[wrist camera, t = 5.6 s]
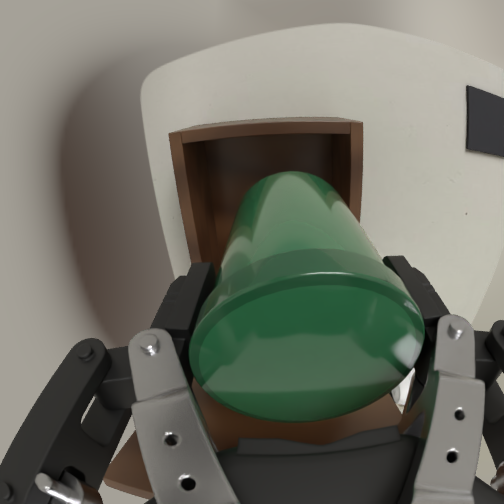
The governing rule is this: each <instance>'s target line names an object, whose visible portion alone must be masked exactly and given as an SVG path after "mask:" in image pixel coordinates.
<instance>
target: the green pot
mask: <svg viewBox="0 0 504 504" xmlns="http://www.w3.org/2000/svg"><path fill="white" fill-rule="evenodd" d="M424 339H425V326H424V320H423V317H422V314H421V312H420V309H419V308H418V306H417V304H416V302H415V300H414V299H413V297H412V295H411V293H410V292H409V290H408V288H407V287H406V285H405V284H404V283H403V281H402V280H401V278H400V277H399V276H397V275H396V274H395V273H394V272H393V271H392V270H391V269H390V268H388V267H387V266H386V265H385V263H384V262H383V260H382V258H381V257H380V255H379V254H378V252H377V250H376V249H375V247H374V245H373V244H372V242H371V241H370V239H369V238H368V236H367V234H366V233H365V231H364V230H363V228H362V227H361V225H360V224H359V222H358V221H357V219H356V218H355V216H354V215H353V213H352V212H351V210H350V209H349V207H348V206H347V205H346V203H345V202H344V200H343V199H342V197H341V196H340V195H339V193H338V192H337V191H336V190H335V189H334V188H333V187H332V186H331V185H330V184H329V183H328V182H326V181H324V180H323V179H321V178H319V177H317V176H315V175H312V174H309V173H304V172H296V171H289V172H281V173H277V174H273V175H270V176H268V177H266V178H264V179H262V180H260V181H259V182H257V183H256V184H255V185H253V186H252V187H251V188H250V189H249V190H248V191H247V192H246V194H245V195H244V196H243V198H242V199H241V201H240V203H239V205H238V208H237V210H236V213H235V217H234V220H233V223H232V226H231V230H230V233H229V236H228V240H227V243H226V246H225V250H224V253H223V256H222V260H221V263H220V267H219V270H218V274H217V277H216V280H215V284H214V287H213V291H212V293H211V294H210V295H209V296H208V297H207V299H206V300H205V302H204V304H203V305H202V307H201V309H200V312H199V314H198V317H197V320H196V323H195V326H194V329H193V333H192V336H191V339H190V344H189V350H188V356H189V364H190V368H191V371H192V374H193V376H194V378H195V380H196V381H197V383H198V384H199V385H200V387H201V388H202V389H203V390H204V391H205V392H206V393H207V394H208V395H209V396H210V397H211V398H213V399H214V400H215V401H216V402H218V403H220V404H221V405H223V406H225V407H226V408H228V409H230V410H233V411H235V412H237V413H240V414H242V415H245V416H248V417H252V418H256V419H260V420H265V421H272V422H281V423H306V422H316V421H322V420H328V419H332V418H336V417H340V416H343V415H347V414H350V413H352V412H355V411H358V410H360V409H362V408H364V407H366V406H369V405H371V404H372V403H374V402H376V401H378V400H379V399H381V398H382V397H384V396H385V395H387V394H388V393H390V392H391V391H392V390H393V389H395V388H396V387H397V386H398V385H399V384H400V383H401V382H402V381H403V380H404V379H405V378H406V377H407V376H408V374H409V373H410V372H411V370H412V369H413V368H414V366H415V364H416V363H417V361H418V359H419V357H420V354H421V352H422V349H423V345H424Z"/></svg>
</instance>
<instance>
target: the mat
mask: <svg viewBox="0 0 504 504" xmlns="http://www.w3.org/2000/svg"><path fill="white" fill-rule="evenodd" d="M466 149H470V150H475V151H480V152H485V153H490V154H494V155H499V156H503V157H504V98H501V97H499V96H496V95H494V94H491V93H489V92H486V91H483V90H480V89H477V88H474V87H471V86H468V85H467V145H466Z"/></svg>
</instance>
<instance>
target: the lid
mask: <svg viewBox="0 0 504 504" xmlns="http://www.w3.org/2000/svg"><path fill="white" fill-rule="evenodd" d="M192 389H193V391H194V394H195V396H196V399H197V401H198V404H199V406H200V409H201V411H202V413H203V416H204V418H205V421H206V423H207V425H208V428H209V430H210V432H211V434H212V436H213V438H214V440H215V442H216V444H217V447H218V449H219V451H221V450H224V449H228V448H232V447H238V437H240V438H281V439H286V440H292V441H297V442H303V443H309V444H316V445H324V444H328V443H331V442H334V441H337V440H340V439H342V438H345V437H348V436H350V435H353V434H356V433H358V432H361V431H365V430H371V429H377V428H382V427H387V426H392V425H398V424H399V422H400V420H401V417H402V414H401V412H400V410H399V409H398V407H397V405H396V404H395V402H394V401H393V399H392V397H391V396H390V394H389V393H388V394H387V395H385V396H384V397H382V398H381V399H379V400H378V401H376V402H374V403H372V404H371V405H369V406H366V407H364V408H362V409H360V410H358V411H355V412H352V413H350V414H347V415H343V416H340V417H336V418H332V419H328V420H322V421H316V422H306V423H281V422H272V421H265V420H260V419H256V418H252V417H248V416H245V415H242V414H240V413H237V412H235V411H233V410H230V409H228V408H226V407H225V406H223V405H221V404H220V403H218V402H216V401H215V400H214V399H213V398H211V397H210V396H209V395H208V394H207V393H206V392H205V391H204V390H203V389H202V388H201V387H200V385H199V384H198V383H197V381H196V380H195V378H194V379H193V383H192ZM103 480H104V482H105V484H106V485H107V486H109V487H112V488H114V489H117V490H120V491H123V492H126V493H129V494H132V495H135V496H139V497H142V498H146V499H149V500H150V499H151V498H153V497H154V493H153V490H152V487H151V484H150V481H149V478H148V474H147V471H146V468H145V464H144V461H143V457H142V453H141V450H140V446H139V442H138V437H137V433H136V430H135V431H134V433H133V434H132V435H131V437H130V438H129V439H128V441H127V442H126V443H125V445H124V446H123V447H122V449H121V450H120V451H119V453H118V454H117V455H116V457H115V458H114V460H113V461H112V462H111V463H110V465H109V466H108V469H107V471H106V473H105V476H104V478H103Z"/></svg>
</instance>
